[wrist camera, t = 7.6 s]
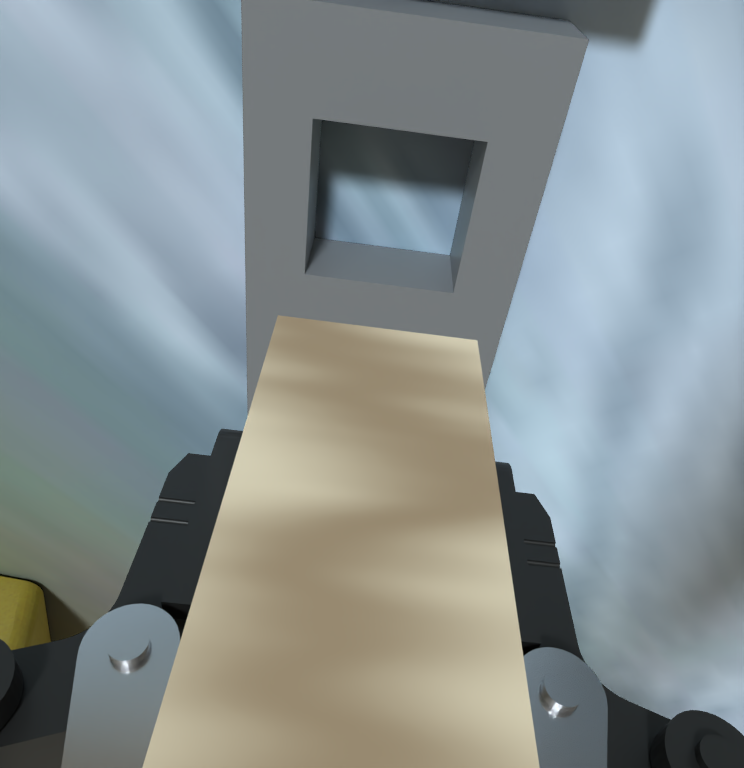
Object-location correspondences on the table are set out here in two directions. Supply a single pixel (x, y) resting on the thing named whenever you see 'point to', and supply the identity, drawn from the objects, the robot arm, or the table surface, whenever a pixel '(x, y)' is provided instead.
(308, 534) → the plug peg
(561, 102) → the power strip
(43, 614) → the flower pot
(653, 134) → the table surface
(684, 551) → the table surface
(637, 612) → the table surface
